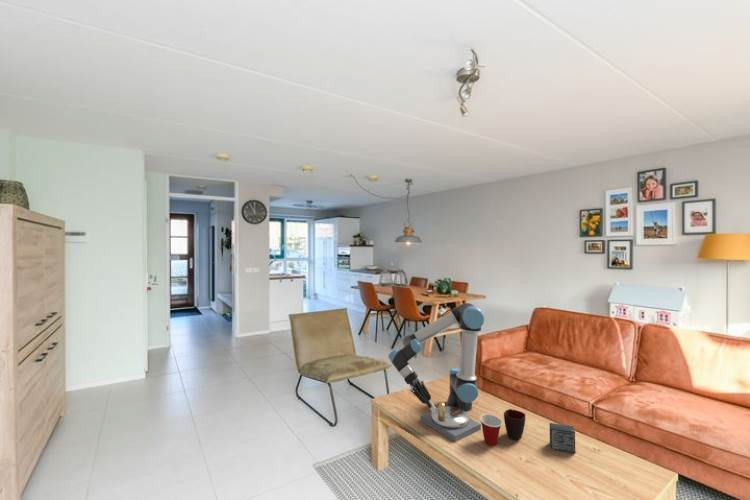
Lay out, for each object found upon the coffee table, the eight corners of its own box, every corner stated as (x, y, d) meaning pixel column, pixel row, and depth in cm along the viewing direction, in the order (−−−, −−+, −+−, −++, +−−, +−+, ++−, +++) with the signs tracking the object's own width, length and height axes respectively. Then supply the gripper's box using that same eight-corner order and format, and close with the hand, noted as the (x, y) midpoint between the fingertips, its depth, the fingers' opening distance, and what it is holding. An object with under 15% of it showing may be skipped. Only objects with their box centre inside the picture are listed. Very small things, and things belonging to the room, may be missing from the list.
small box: (572, 446, 172) (572, 425, 172) (575, 453, 166) (575, 432, 166) (549, 442, 176) (549, 421, 176) (551, 449, 170) (551, 428, 169)
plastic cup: (493, 451, 168) (493, 427, 168) (475, 441, 177) (475, 418, 177) (507, 444, 174) (507, 420, 174) (488, 434, 183) (488, 412, 183)
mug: (501, 437, 180) (501, 414, 180) (511, 426, 191) (511, 405, 190) (521, 444, 174) (521, 421, 174) (530, 433, 184) (530, 410, 184)
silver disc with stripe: (455, 408, 206) (455, 388, 206) (476, 424, 187) (476, 403, 187) (425, 414, 199) (425, 394, 199) (443, 431, 180) (443, 410, 180)
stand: (420, 420, 198) (420, 415, 198) (445, 410, 210) (445, 405, 210) (455, 441, 177) (455, 435, 177) (480, 429, 188) (480, 423, 188)
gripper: (409, 374, 204) (435, 410, 195) (398, 381, 193) (426, 420, 185) (418, 367, 201) (444, 403, 193) (407, 374, 190) (435, 413, 182)
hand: (435, 411), depth 189 cm, fingers closed
